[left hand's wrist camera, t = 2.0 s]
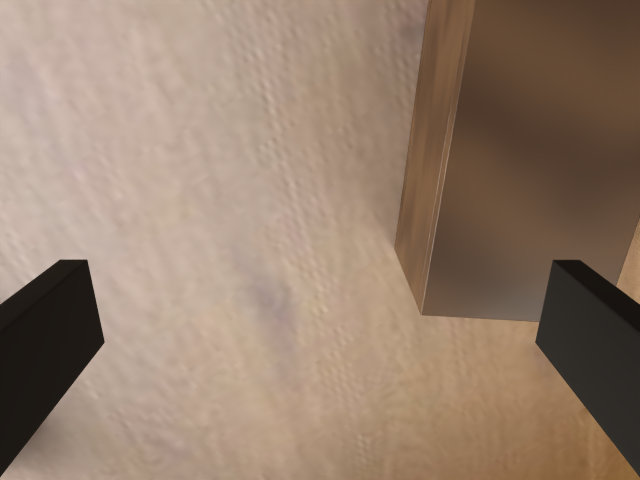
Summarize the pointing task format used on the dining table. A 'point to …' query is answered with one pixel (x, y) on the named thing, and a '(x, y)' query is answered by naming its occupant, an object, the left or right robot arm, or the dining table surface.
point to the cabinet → (520, 152)
